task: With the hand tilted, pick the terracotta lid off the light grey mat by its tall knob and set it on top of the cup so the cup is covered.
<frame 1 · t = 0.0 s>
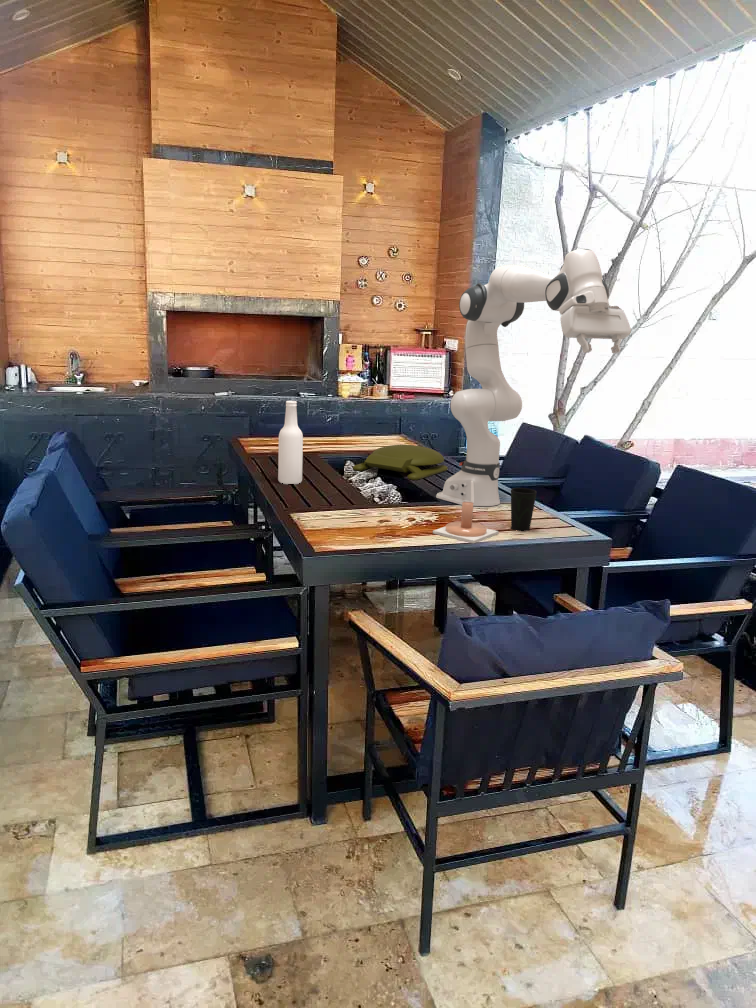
hand: (602, 352, 202), 54 cm above the table, tool tilted 30°, fingers open, 8 cm apart
lid: (465, 530, 224), point 1 cm above the table, touching mat
mat: (465, 533, 224), on the table
alcohol: (290, 482, 282), on the table
green turtle: (404, 470, 316), on the table
cup: (520, 529, 232), on the table
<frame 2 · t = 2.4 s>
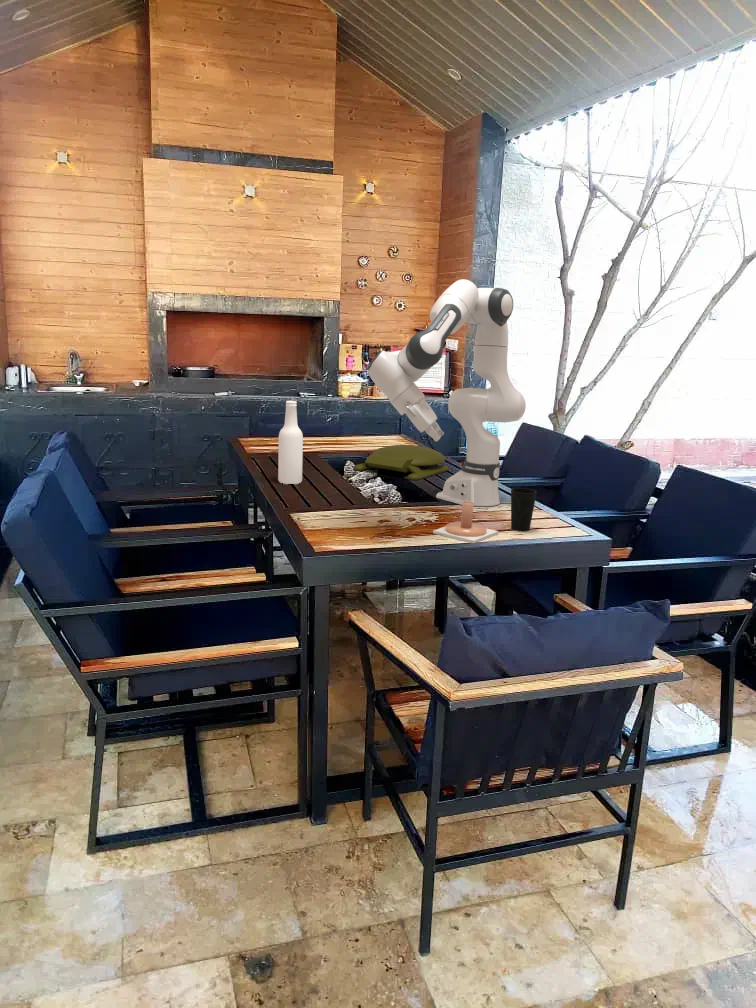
hand: (440, 437, 220), 28 cm above the table, tool tilted 45°, fingers open, 8 cm apart
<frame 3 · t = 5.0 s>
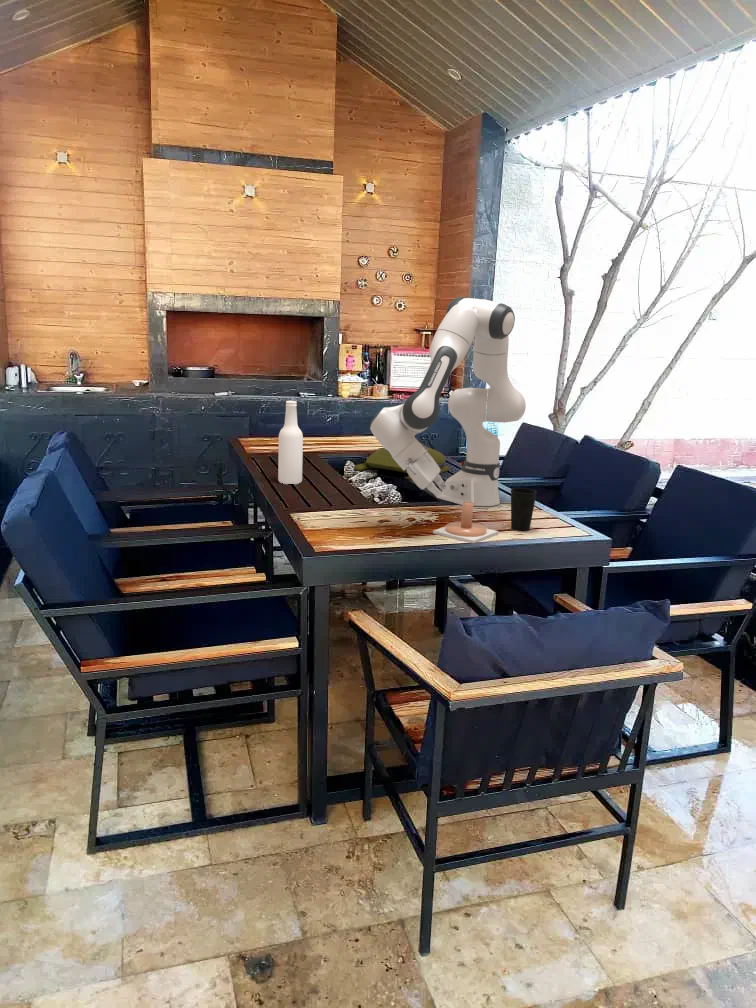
hand: (442, 492, 223), 12 cm above the table, tool tilted 45°, fingers open, 8 cm apart
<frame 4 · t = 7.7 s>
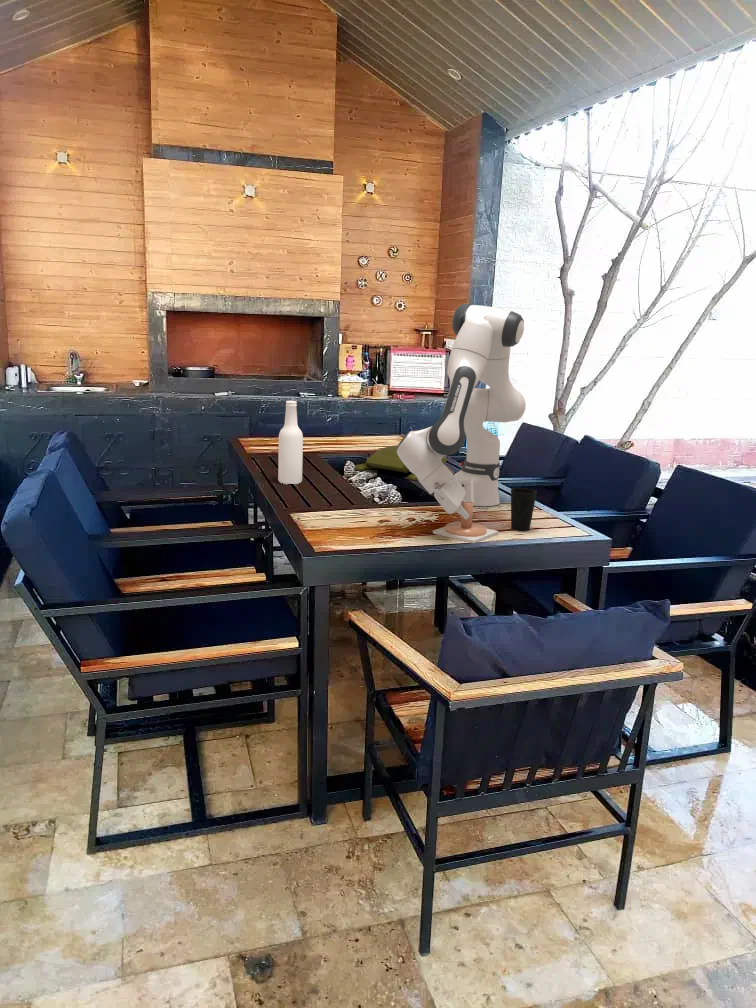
hand: (469, 515, 223), 5 cm above the table, tool tilted 45°, fingers closed on lid, 3 cm apart
lid: (465, 530, 224), point 1 cm above the table, touching gripper, mat
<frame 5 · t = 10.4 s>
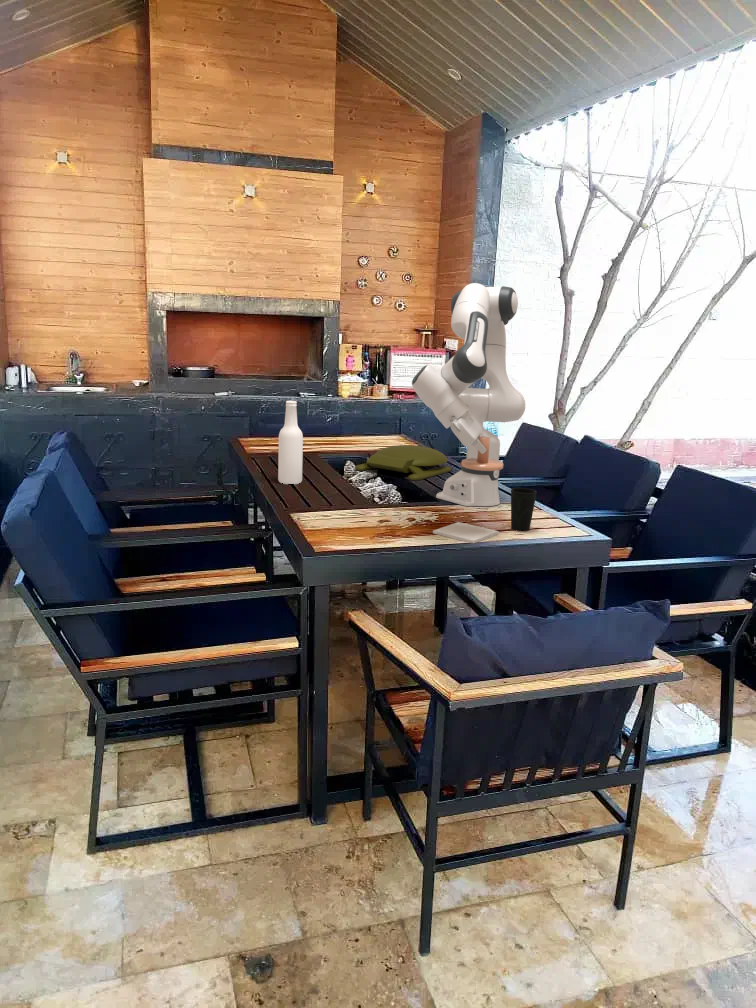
hand: (485, 450, 220), 25 cm above the table, tool tilted 45°, fingers closed on lid, 3 cm apart
lid: (482, 466, 222), point 20 cm above the table, touching gripper
when the fingers open (18 cm above the table, at t = 13.3 s): lid drops 2 cm, resting on cup.
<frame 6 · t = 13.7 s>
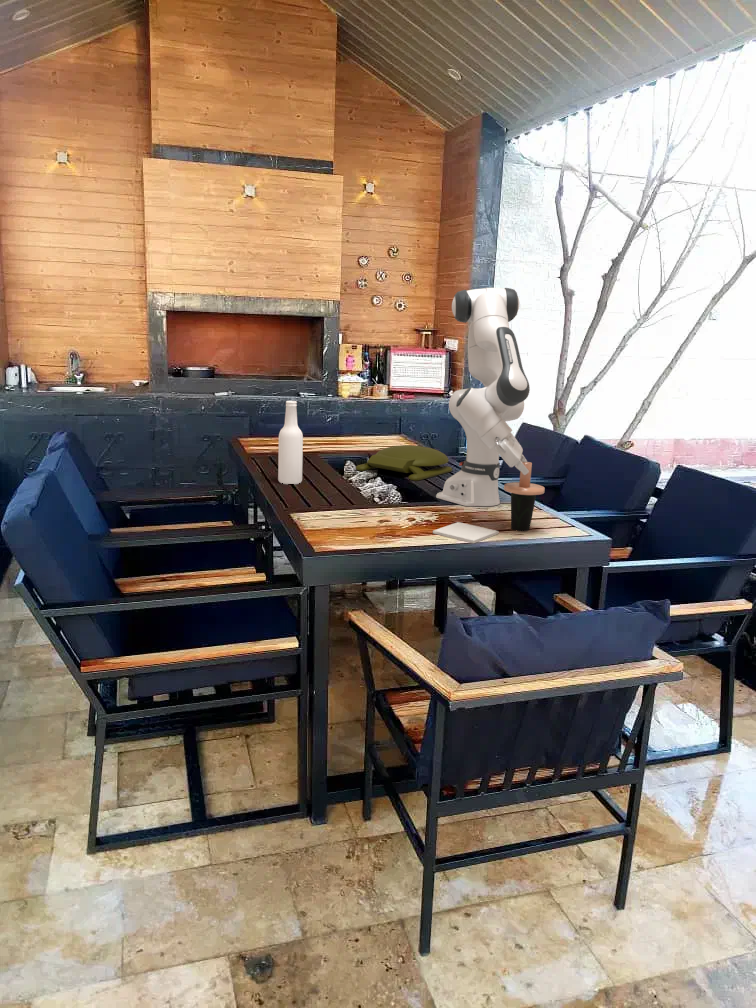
hand: (527, 470, 228), 18 cm above the table, tool tilted 45°, fingers open, 8 cm apart
lid: (524, 490, 229), point 12 cm above the table, touching cup
cup: (520, 529, 232), on the table, touching lid
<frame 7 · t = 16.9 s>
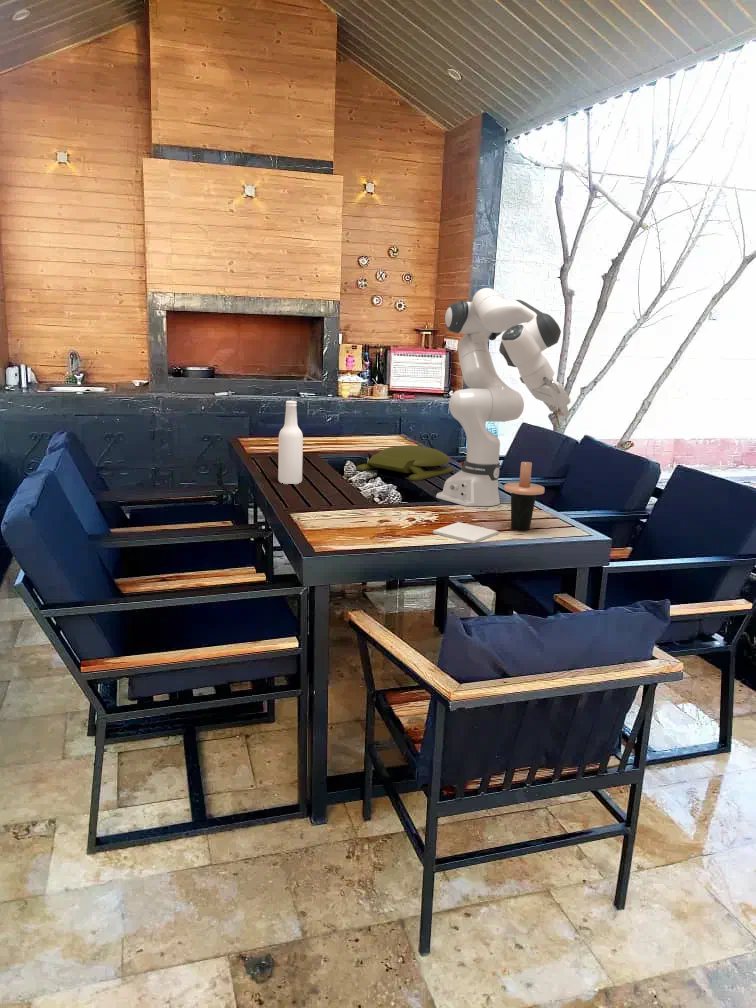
hand: (560, 413, 230), 35 cm above the table, tool tilted 40°, fingers open, 8 cm apart
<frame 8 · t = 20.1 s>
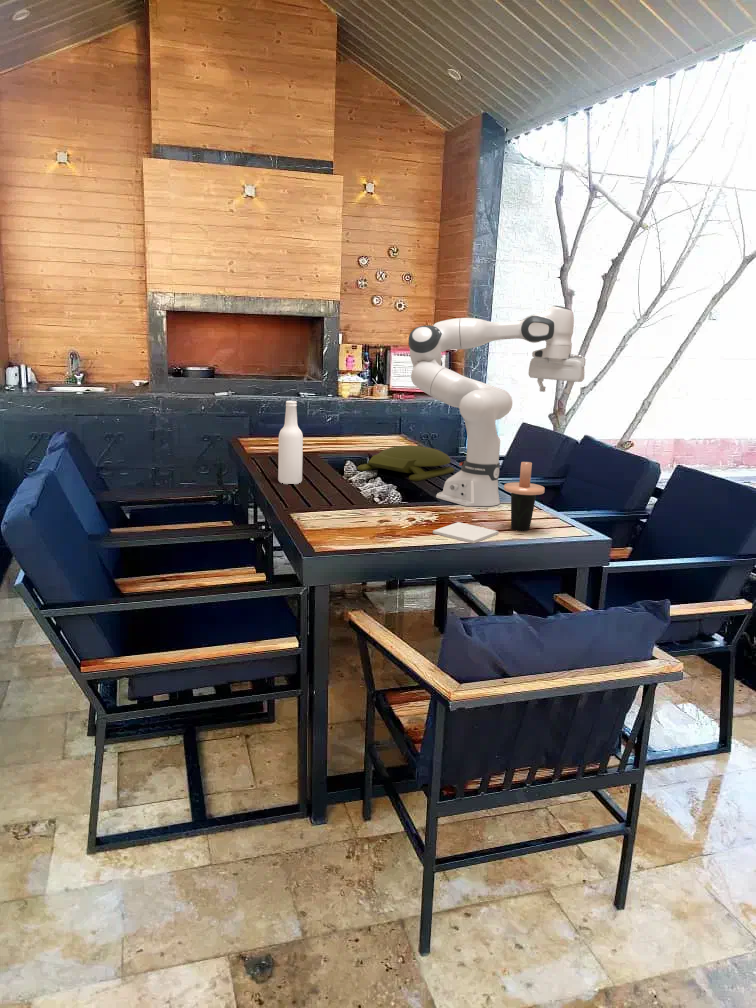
hand: (554, 392, 273), 37 cm above the table, tool pointing down, fingers open, 8 cm apart
at the end: lid 0.1 cm off-centre on the cup, point 12.2 cm above the cup's base; lid tilted 0°; cup tilted 0° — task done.
